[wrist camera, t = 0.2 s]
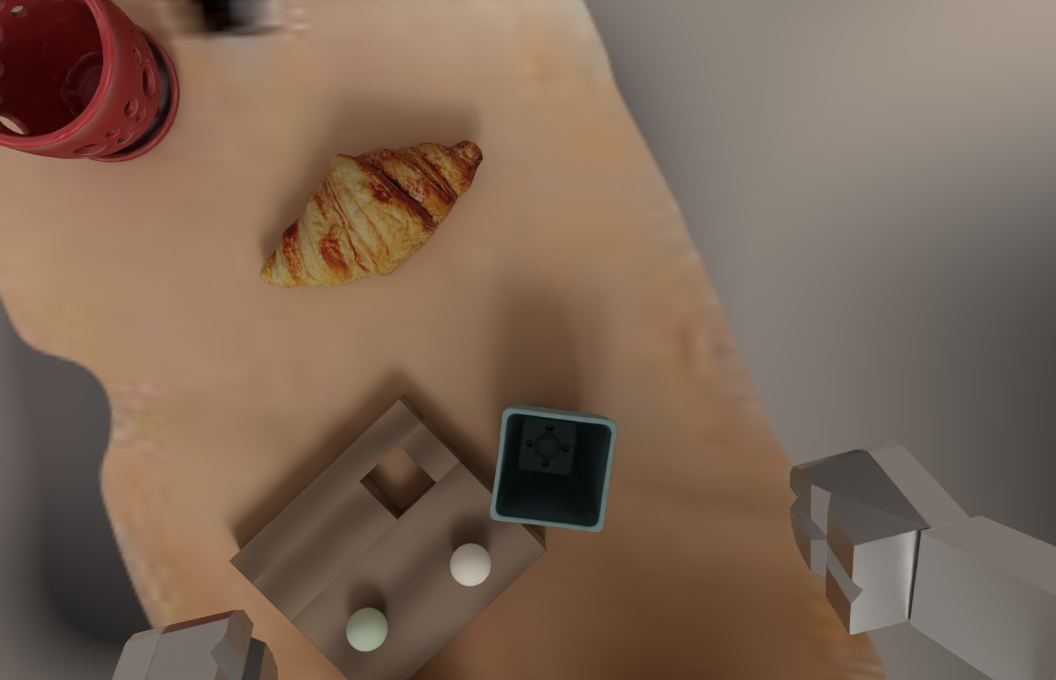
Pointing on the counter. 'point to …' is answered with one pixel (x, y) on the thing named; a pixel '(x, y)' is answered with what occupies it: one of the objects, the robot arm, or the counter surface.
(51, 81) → the plant pot
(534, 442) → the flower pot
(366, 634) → the sage ball
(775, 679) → the counter surface
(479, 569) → the ivory ball
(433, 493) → the board
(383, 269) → the croissant
